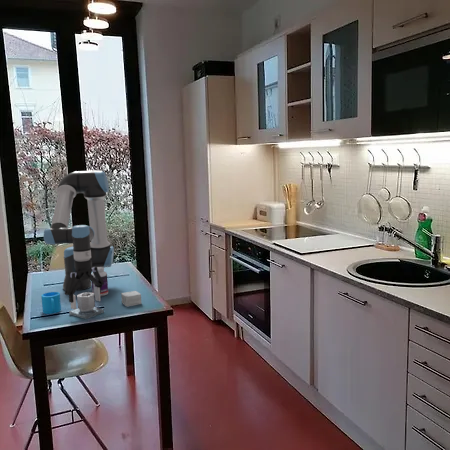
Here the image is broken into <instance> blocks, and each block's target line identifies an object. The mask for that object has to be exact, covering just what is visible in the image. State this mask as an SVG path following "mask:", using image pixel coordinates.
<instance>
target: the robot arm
mask: <svg viewBox="0 0 450 450" xmlns="http://www.w3.org/2000/svg"><path fill="white" fill-rule="evenodd" d="M109 186H110V184H109V181H108V177H107V174H106V172H105V171H104V170H78V171H77V170H75V171H73V172H70V173H68V174H66V175H65V176H64V177H63V178H62V179H61V180H60V181H59V183H58V185H57V187H56V194H57V199H56V203H55V207H54V211H53V216H52V219H51V225H50V227H49V228H45V229H44V230H43V241H44V243H45V244H46V245H65V244H72V246H69V247H66V248H65V249H64V251H63V260H64V261H63V262H64V264H63V265H64V274H65V275H64V279H63V283H62V289H63V290H64V293H63V294H64V295H66V296H68V300H69V303H70V309H71V310H75V309H77V301H76V299H77V297H76V295H75V293H76V291H77V292H78V291H83V290H87V289H89V288H92V282H93V283H94V284H95V285H96V286H97V287H95V296H94V299H95V302H101V296H100V293H101V287H102V285H104V282H103V280H102V278H101V276H100V274H99V273H98V269H97V267H104V269H106V268H111V267H112V265H113V261H114V253H115V250H114V249H115V248H114V246H113V245H111V242H110V241H109V240H108V234H107V233H108V232H107V221H106V219H107V218H106V211H105V198H106V196H107V194H108V193H109V191H110V187H109ZM77 194H83V198H85V199H86V200H87V209H88V210H87V212H88V221H89V225H86V224H79V225H78V224H77V225H73V226H71V227H69V223H70V216H71V213H72V207H73V201H74V198H75V197H76V196H77ZM92 273H93V274H94V276H95V277H96V279H97V280H96V279H95V278H94V276H93V275H92Z"/></svg>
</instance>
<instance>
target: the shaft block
mask: <svg viewBox="0 0 450 450" xmlns="http://www.w3.org/2000/svg"><path fill="white" fill-rule="evenodd" d="M83 296H89V295H88V294H83ZM68 312H69V313H68V314H69V315H70V316H74V317H78V318H81V319H84V320H88V319H91V318H93V317H96V316H99V315H101V313H102V314H104V313H105V309H103V308H100V307H96V306H95V307H94V308H92V309H89V310H80V309H78V308H76V309H71V310H69V311H68Z"/></svg>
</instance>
